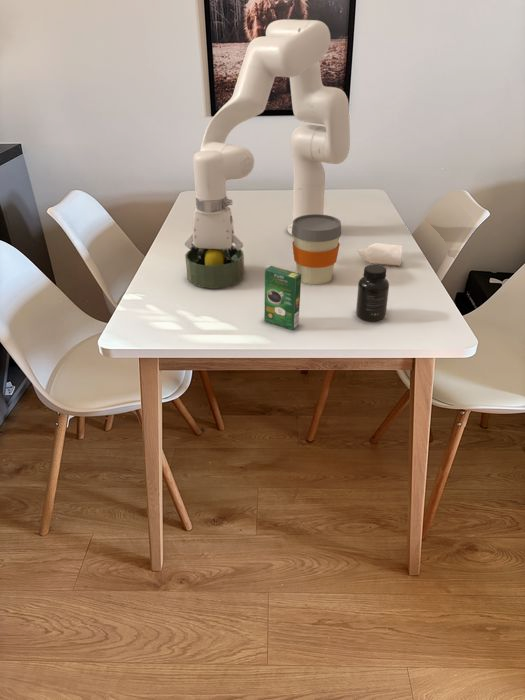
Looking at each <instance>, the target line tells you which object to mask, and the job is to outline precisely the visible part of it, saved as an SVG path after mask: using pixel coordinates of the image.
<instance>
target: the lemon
mask: <svg viewBox="0 0 525 700" xmlns="http://www.w3.org/2000/svg"><path fill="white" fill-rule="evenodd" d="M224 260H225V255H224V253H223V251H222V250H221V249H209V250H208V251H207V252H206V254H205V258H204V262H205V265H210V266H215V265H224Z"/></svg>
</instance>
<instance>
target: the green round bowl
mask: <svg viewBox="0 0 525 700" xmlns="http://www.w3.org/2000/svg"><path fill="white" fill-rule="evenodd" d="M235 246H236V245H233V244H232V247H231V248H230V249H231V250H232V249H233V248H234V247H235ZM208 250H209V249H205V250H204V254H206V252H207V251H208ZM221 250H222V249H221ZM222 251H223V250H222ZM223 253H224V252H223ZM224 255H225V254H224ZM184 258H185V268H186V279H187V280H188V282H190V284H193V285H195V286H197V287H202V288H208V289H209V288H212V289H216V288H226V287H230V286H233V285H236V284H237V283H239V282H241V281H242V280H243V279H244V278H245V277H244V276H245V255H244V251H243V250H242V248H241V249H240V250H239V251H238V252H236V254H235V255H233V256H232V257H231V263H228V264H224V265H215V266H210V265H200V264H199V258H197V256H196V255H195V254H194V253H193V252H192V251H191V249H189V250H188V251H187V252H186V253H185V255H184Z"/></svg>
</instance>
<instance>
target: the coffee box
mask: <svg viewBox="0 0 525 700" xmlns="http://www.w3.org/2000/svg"><path fill="white" fill-rule="evenodd" d="M301 288H302V281H301V274H299V273H297V271H291V270H288V269H284V268H281V267H277V266H274V265H270V266H268V267H266V268H265V269H264V318H263V319H264V322H265V323H269V324H271V325H276V326H278V327H282V328H284V329H287V330H292V331H294V330H296V329H297V328H298V327H299V325H300V305H301Z"/></svg>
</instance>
